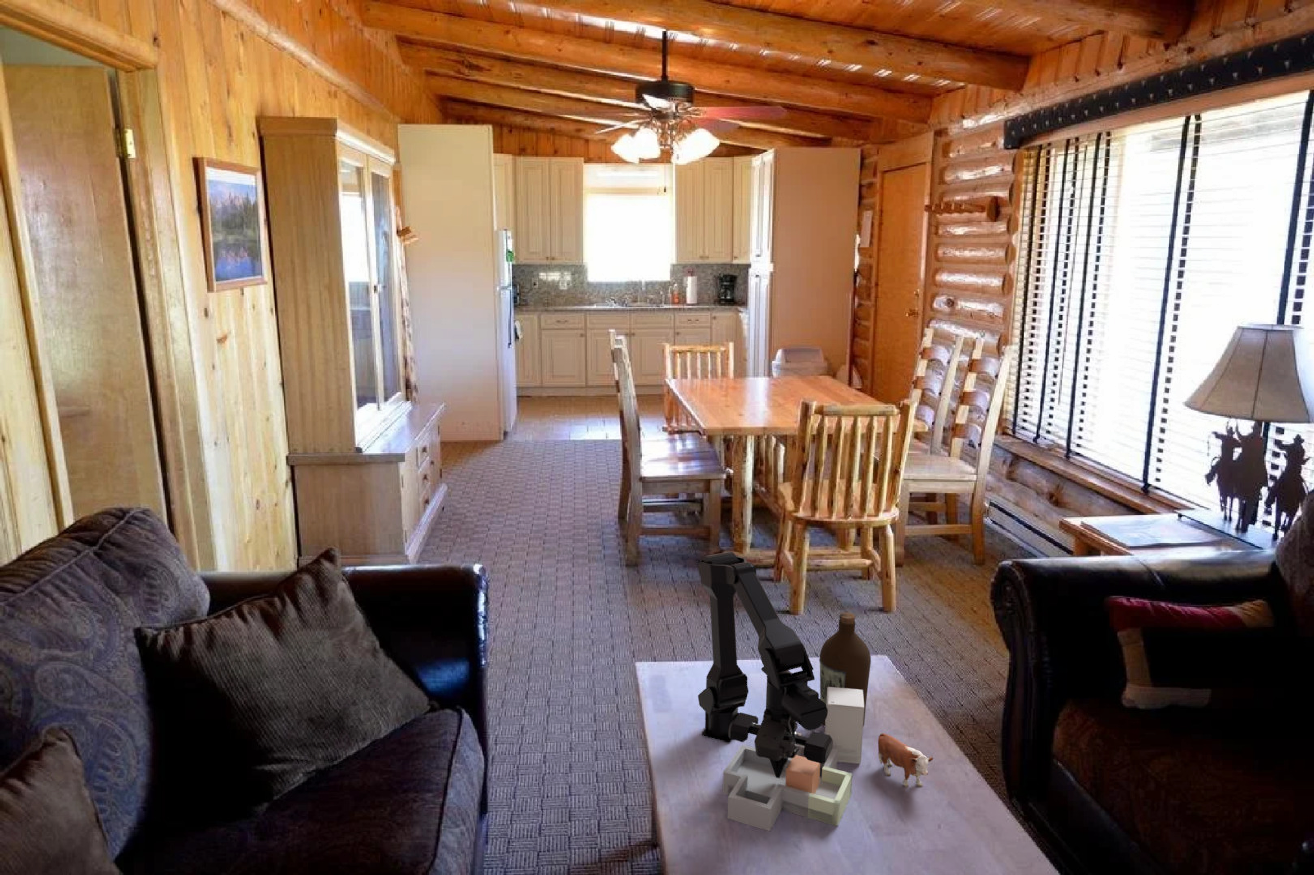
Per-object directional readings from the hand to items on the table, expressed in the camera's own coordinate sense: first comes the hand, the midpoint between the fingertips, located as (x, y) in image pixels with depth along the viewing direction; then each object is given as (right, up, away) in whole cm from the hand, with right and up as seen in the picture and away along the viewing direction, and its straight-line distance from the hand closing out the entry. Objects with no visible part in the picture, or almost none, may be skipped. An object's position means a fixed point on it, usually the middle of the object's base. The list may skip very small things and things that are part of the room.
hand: (778, 777), depth 165 cm
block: (+4, -2, -2) cm, 5 cm away
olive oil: (+17, +2, +24) cm, 30 cm away
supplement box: (+15, 0, +13) cm, 20 cm away
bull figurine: (+25, -2, +4) cm, 25 cm away
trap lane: (+2, -3, 0) cm, 4 cm away
